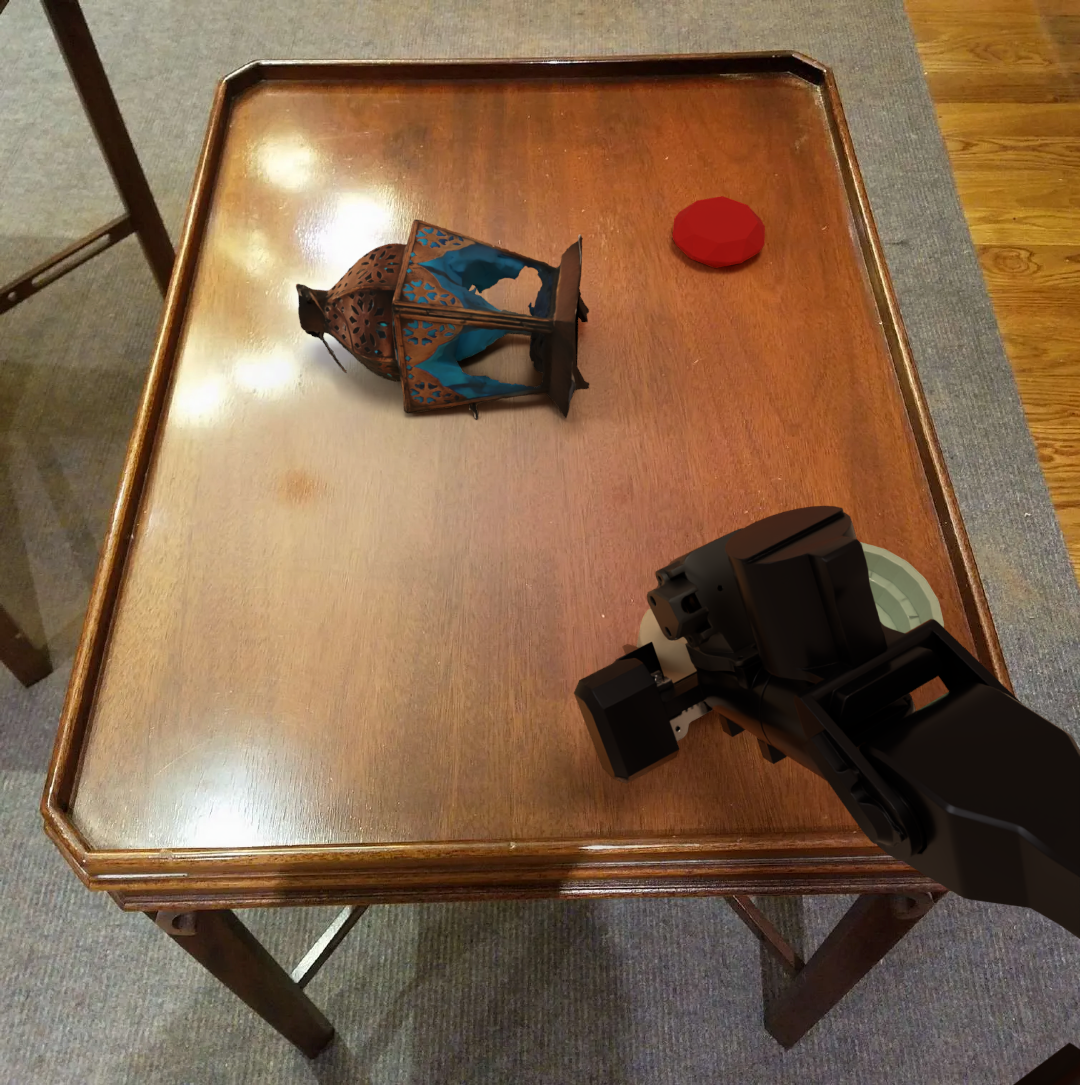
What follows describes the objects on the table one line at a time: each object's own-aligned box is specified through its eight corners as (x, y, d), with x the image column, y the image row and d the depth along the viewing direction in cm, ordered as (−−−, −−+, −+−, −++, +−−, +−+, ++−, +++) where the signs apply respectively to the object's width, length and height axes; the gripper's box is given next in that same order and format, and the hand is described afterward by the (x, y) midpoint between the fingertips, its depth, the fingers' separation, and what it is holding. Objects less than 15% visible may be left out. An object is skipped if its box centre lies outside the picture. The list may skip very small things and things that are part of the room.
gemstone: (713, 287, 88) (718, 263, 86) (653, 238, 92) (656, 213, 90) (780, 249, 91) (786, 224, 89) (718, 203, 95) (723, 178, 92)
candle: (708, 723, 65) (733, 663, 56) (631, 722, 65) (643, 662, 56) (702, 652, 68) (724, 585, 59) (628, 652, 68) (639, 585, 59)
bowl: (932, 715, 65) (959, 687, 61) (771, 711, 65) (786, 683, 61) (903, 577, 71) (925, 542, 67) (755, 573, 71) (769, 539, 67)
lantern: (580, 411, 88) (321, 394, 88) (594, 234, 84) (320, 215, 83) (588, 442, 73) (273, 422, 72) (606, 227, 68) (269, 204, 68)
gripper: (913, 487, 47) (748, 466, 61) (599, 643, 42) (501, 580, 57) (960, 675, 50) (792, 612, 64) (671, 840, 45) (560, 732, 60)
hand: (667, 630), depth 61 cm, fingers open, 6 cm apart
